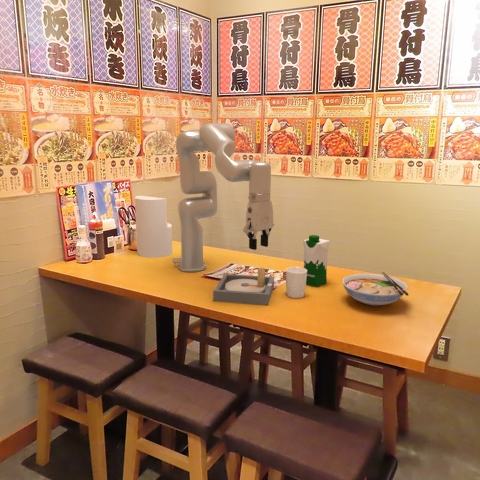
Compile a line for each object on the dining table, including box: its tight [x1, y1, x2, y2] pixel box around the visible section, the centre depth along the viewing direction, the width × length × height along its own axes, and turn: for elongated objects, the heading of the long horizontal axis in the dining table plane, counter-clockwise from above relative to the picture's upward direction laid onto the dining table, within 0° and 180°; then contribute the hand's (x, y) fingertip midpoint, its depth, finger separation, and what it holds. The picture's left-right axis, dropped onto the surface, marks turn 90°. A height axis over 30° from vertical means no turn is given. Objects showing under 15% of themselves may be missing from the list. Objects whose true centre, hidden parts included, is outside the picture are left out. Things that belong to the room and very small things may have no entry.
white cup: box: [285, 266, 307, 299], centre depth 171 cm, size 8×8×10 cm
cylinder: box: [134, 195, 173, 259], centre depth 224 cm, size 17×17×28 cm
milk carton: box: [303, 234, 331, 288], centre depth 183 cm, size 9×9×20 cm
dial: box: [225, 267, 266, 293], centre depth 172 cm, size 15×15×9 cm
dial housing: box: [212, 273, 275, 306], centre depth 173 cm, size 20×20×4 cm
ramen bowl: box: [342, 271, 409, 307], centre depth 165 cm, size 25×23×8 cm
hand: (258, 247), depth 164 cm, fingers open, 5 cm apart
